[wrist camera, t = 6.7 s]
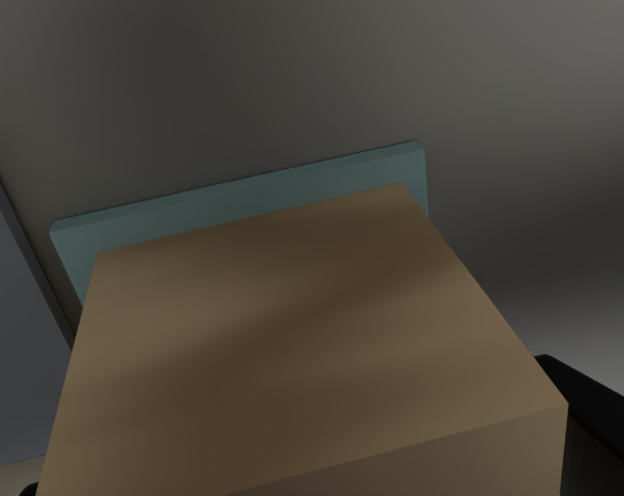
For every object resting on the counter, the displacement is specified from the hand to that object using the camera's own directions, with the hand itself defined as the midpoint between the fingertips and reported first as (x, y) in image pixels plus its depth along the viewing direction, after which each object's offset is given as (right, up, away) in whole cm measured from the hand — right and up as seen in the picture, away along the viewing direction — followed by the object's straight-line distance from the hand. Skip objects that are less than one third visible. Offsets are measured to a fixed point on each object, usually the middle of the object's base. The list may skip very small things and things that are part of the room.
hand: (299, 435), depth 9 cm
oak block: (0, +1, +2) cm, 2 cm away
